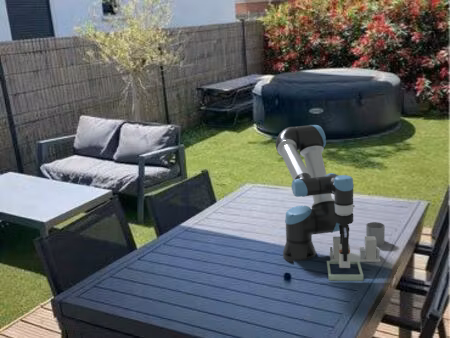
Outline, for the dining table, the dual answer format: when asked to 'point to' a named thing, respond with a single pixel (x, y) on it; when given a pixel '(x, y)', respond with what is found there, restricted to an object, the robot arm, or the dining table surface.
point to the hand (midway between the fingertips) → (344, 264)
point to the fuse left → (336, 247)
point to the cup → (376, 231)
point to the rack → (359, 256)
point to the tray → (345, 276)
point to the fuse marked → (341, 256)
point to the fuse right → (370, 247)
